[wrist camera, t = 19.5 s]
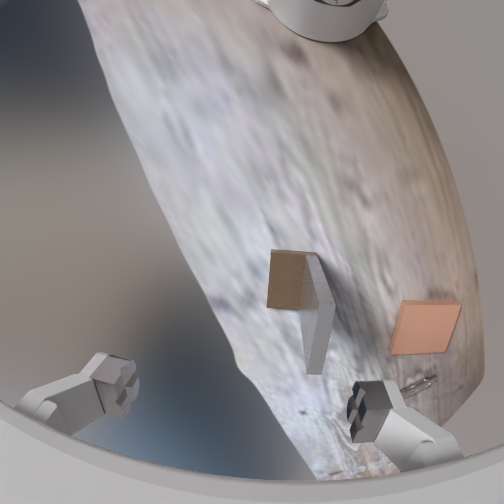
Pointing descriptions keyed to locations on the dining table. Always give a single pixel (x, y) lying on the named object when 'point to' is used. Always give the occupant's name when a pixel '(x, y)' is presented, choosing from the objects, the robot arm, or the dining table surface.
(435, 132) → the dining table surface
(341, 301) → the dining table surface
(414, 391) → the micrometer
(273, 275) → the bookend
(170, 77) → the dining table surface
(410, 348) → the tile
